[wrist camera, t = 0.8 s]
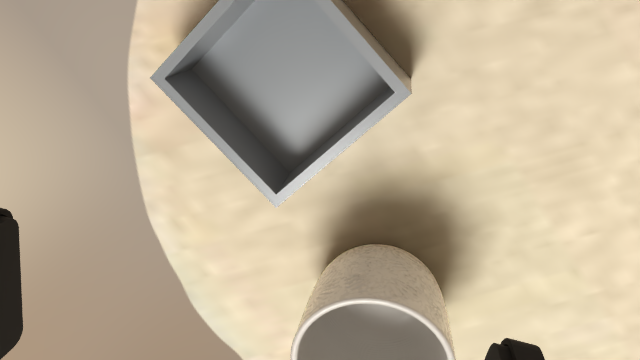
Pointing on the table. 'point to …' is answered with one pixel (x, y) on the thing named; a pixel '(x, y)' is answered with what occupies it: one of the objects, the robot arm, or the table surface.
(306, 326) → the planter
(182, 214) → the table surface
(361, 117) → the bin
